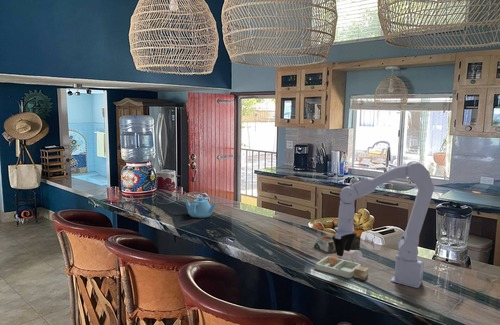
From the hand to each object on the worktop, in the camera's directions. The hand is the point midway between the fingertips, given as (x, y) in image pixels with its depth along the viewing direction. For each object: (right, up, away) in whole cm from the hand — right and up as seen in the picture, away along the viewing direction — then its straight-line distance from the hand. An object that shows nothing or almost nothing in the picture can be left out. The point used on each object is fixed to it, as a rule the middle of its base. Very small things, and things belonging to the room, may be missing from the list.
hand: (343, 253), depth 149 cm
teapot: (-65, +3, +80) cm, 103 cm away
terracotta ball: (-3, -6, +6) cm, 9 cm away
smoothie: (+2, -3, +15) cm, 16 cm away
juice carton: (+4, -5, +30) cm, 31 cm away
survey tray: (-2, -7, +2) cm, 8 cm away
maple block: (+5, -8, -5) cm, 11 cm away
